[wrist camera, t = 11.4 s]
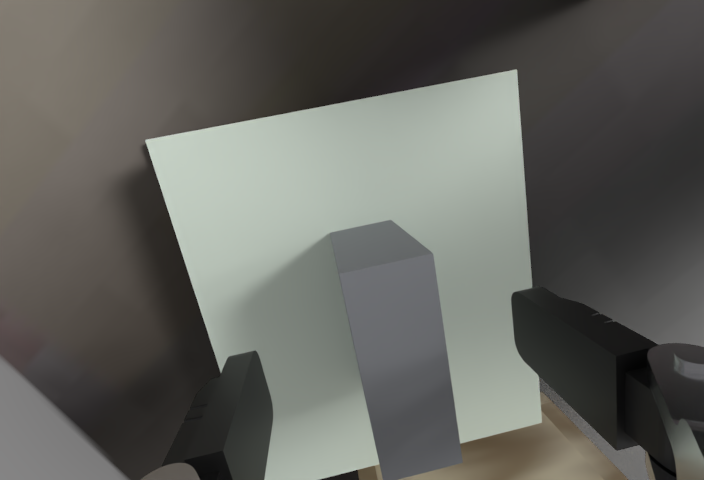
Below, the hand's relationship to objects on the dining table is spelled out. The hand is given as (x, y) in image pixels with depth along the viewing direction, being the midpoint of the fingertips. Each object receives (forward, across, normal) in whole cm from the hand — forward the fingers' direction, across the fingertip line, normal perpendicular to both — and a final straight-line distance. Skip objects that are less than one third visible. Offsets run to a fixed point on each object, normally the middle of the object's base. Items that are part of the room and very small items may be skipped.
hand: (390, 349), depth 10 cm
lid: (+5, 0, 0) cm, 5 cm away
